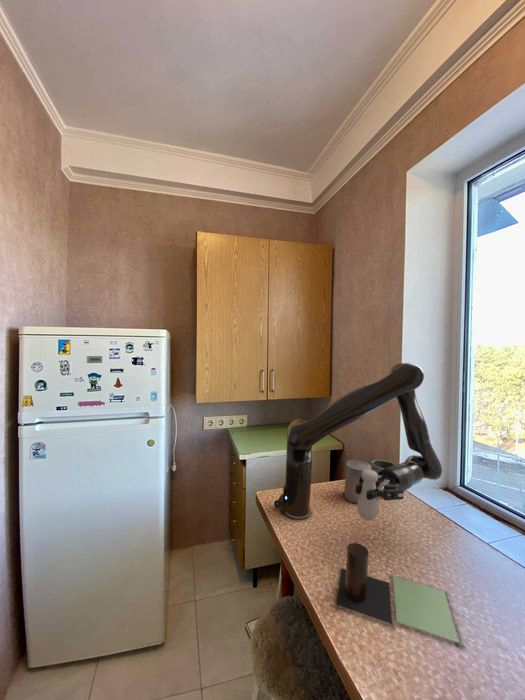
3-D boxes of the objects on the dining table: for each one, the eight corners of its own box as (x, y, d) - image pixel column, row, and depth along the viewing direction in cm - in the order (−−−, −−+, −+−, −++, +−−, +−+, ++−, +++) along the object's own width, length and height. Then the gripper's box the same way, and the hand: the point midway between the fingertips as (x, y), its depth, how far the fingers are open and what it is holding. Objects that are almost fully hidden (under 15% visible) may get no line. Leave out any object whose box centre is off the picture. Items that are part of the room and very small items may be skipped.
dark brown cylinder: (344, 598, 71) (346, 553, 70) (345, 582, 76) (348, 540, 75) (365, 605, 69) (368, 559, 69) (366, 589, 74) (368, 546, 73)
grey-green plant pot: (383, 500, 118) (385, 470, 118) (364, 488, 127) (366, 461, 127) (400, 495, 123) (402, 466, 122) (381, 484, 132) (382, 457, 131)
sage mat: (396, 624, 65) (396, 621, 65) (392, 577, 79) (392, 575, 79) (459, 645, 61) (459, 643, 61) (444, 593, 74) (444, 590, 74)
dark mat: (336, 607, 69) (336, 604, 69) (341, 570, 80) (341, 568, 80) (391, 626, 65) (392, 623, 65) (389, 585, 76) (389, 582, 76)
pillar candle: (357, 490, 125) (359, 455, 125) (374, 501, 117) (376, 464, 116) (339, 494, 121) (341, 458, 121) (356, 506, 112) (358, 467, 112)
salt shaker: (380, 524, 80) (382, 477, 79) (358, 520, 81) (360, 474, 80) (376, 512, 86) (378, 468, 85) (355, 509, 87) (357, 465, 86)
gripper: (377, 458, 97) (342, 469, 87) (420, 475, 85) (386, 491, 75) (376, 480, 97) (341, 494, 87) (419, 500, 86) (384, 519, 76)
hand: (362, 492), depth 81 cm, fingers closed on salt shaker, 3 cm apart
